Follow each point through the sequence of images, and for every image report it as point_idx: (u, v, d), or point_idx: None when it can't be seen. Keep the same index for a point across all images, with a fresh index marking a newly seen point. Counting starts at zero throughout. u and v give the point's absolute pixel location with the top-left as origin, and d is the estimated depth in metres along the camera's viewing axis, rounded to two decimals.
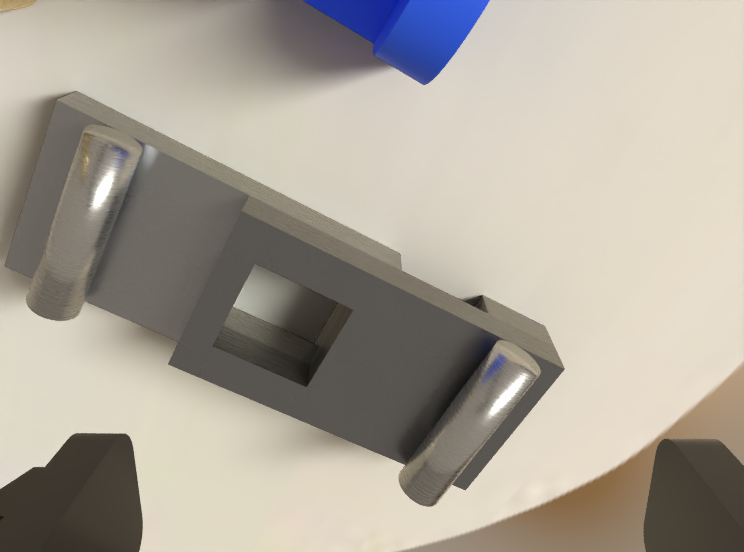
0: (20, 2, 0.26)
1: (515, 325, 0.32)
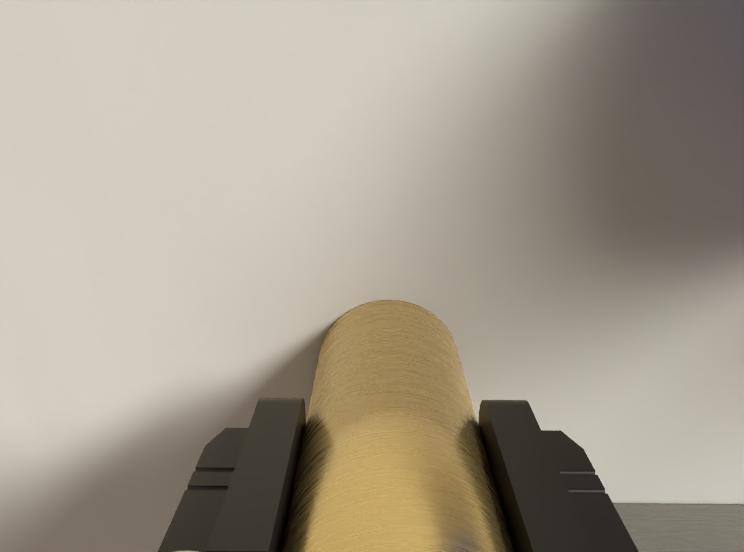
0: None
1: None
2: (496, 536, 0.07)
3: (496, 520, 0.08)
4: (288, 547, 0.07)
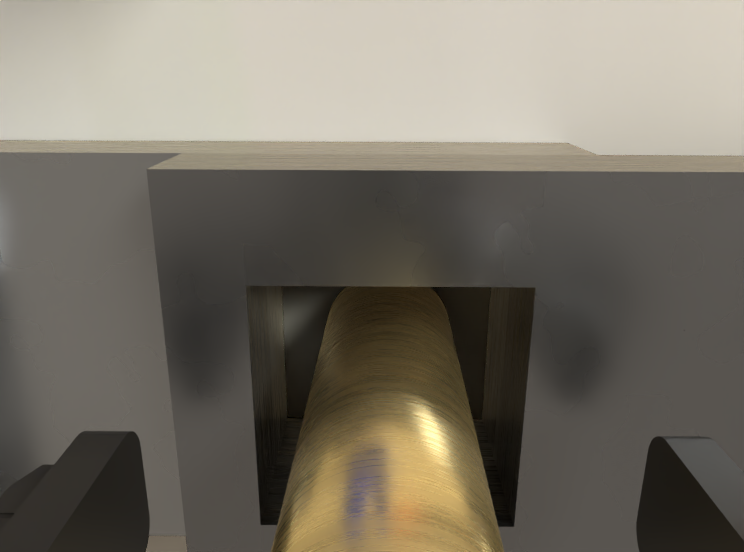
0: None
1: None
2: (465, 441, 0.09)
3: (467, 432, 0.09)
4: (300, 450, 0.09)
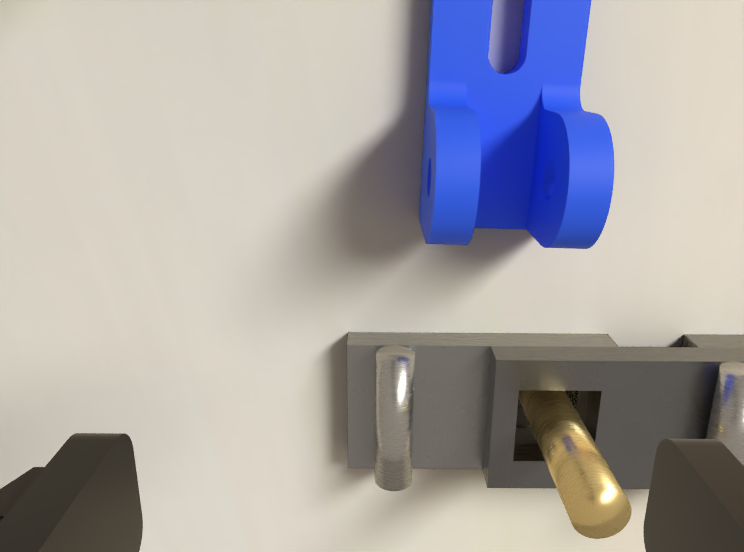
0: None
1: (723, 346, 0.40)
2: (589, 434, 0.37)
3: None
4: (546, 436, 0.37)
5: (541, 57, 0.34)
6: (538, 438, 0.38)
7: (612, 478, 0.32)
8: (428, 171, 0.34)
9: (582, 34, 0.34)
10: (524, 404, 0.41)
